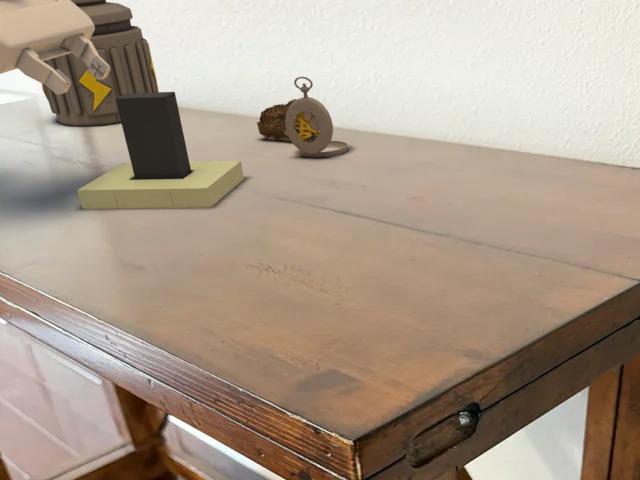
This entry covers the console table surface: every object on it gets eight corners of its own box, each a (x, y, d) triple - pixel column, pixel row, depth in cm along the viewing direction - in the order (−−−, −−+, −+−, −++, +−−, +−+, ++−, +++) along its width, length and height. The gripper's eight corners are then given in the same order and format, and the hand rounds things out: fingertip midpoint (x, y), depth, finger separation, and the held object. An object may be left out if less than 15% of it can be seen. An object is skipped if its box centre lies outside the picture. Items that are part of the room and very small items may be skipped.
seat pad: (83, 212, 96) (76, 189, 94) (127, 183, 105) (121, 163, 103) (211, 210, 93) (206, 187, 92) (244, 181, 102) (241, 160, 101)
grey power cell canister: (58, 112, 150) (-1, -94, 131) (162, 100, 152) (118, -103, 134) (48, 132, 135) (-21, -97, 117) (163, 119, 138) (113, -106, 119)
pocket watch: (344, 146, 114) (336, 65, 108) (354, 160, 108) (346, 74, 102) (286, 153, 113) (275, 71, 107) (293, 167, 107) (281, 81, 101)
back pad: (140, 199, 99) (115, 98, 92) (150, 192, 101) (126, 93, 94) (186, 199, 98) (164, 96, 91) (195, 192, 100) (174, 91, 93)
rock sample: (339, 102, 119) (297, 65, 113) (339, 148, 118) (296, 113, 111) (289, 133, 126) (246, 100, 119) (288, 176, 124) (245, 145, 117)
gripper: (17, -1, 98) (114, 88, 102) (-93, 17, 82) (28, 122, 86) (39, -49, 94) (138, 45, 98) (-72, -39, 78) (53, 73, 83)
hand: (86, 81), depth 92 cm, fingers open, 8 cm apart
